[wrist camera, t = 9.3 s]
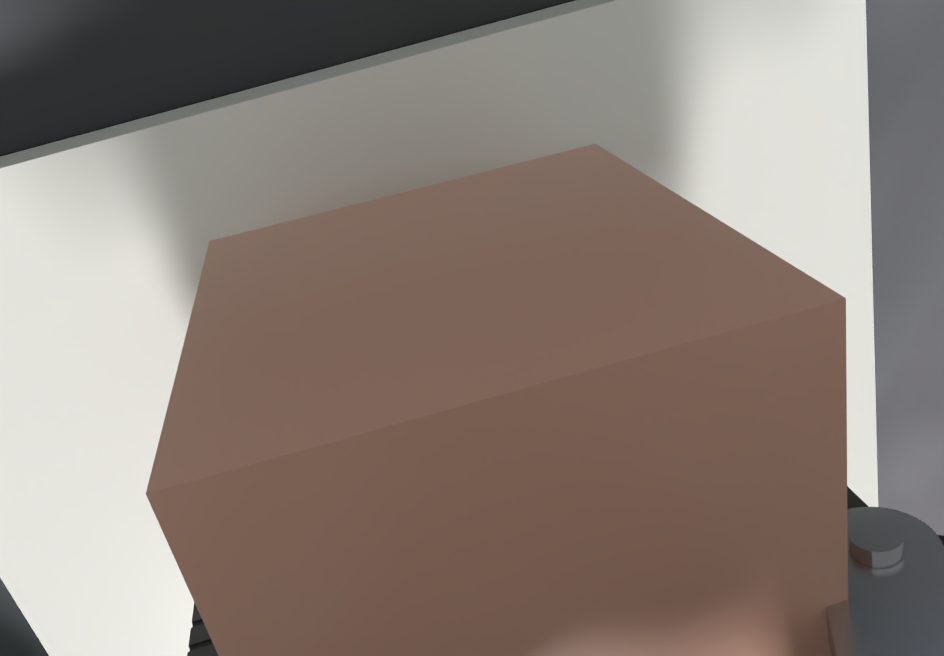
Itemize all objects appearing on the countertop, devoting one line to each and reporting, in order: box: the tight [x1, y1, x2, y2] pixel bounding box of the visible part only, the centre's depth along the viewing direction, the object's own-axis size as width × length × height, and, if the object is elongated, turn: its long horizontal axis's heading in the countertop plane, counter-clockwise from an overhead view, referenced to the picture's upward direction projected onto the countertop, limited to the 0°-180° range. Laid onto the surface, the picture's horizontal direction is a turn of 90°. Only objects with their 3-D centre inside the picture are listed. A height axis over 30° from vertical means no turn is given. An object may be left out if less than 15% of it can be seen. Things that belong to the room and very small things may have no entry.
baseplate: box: [0, 0, 878, 656], centre depth 15 cm, size 16×12×1 cm
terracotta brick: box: [146, 144, 848, 656], centre depth 11 cm, size 6×9×6 cm, turn 11°
